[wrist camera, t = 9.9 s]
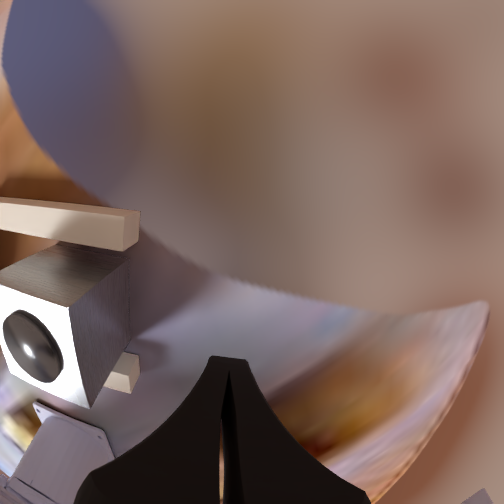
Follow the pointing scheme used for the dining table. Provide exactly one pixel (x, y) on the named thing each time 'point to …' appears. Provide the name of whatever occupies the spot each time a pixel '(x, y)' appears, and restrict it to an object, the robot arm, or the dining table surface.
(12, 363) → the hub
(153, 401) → the dining table surface
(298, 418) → the dining table surface
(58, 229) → the guide rails
